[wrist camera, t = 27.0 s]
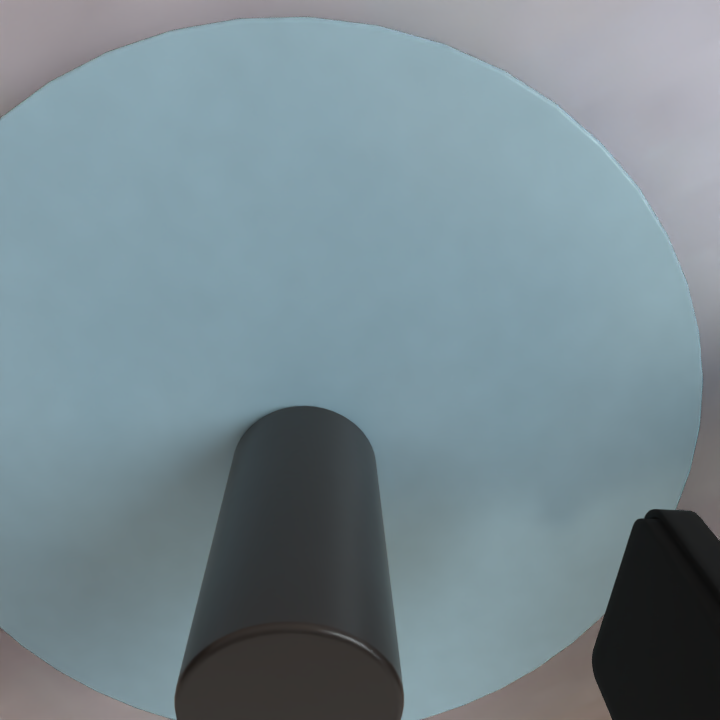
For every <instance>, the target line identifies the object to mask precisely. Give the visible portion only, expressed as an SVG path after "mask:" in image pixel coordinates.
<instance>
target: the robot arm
mask: <svg viewBox="0 0 720 720" xmlns="http://www.w3.org/2000/svg"><path fill="white" fill-rule="evenodd" d="M592 667H593V673H594V676H595V679H596V682H597V684H598V687H599V689H600V691H601V694H602V696H603V698H604V701H605V703H606V706H607V708H608V710H609V713H610V715H611V717H612V720H720V541H719V540H718V539H717V537H716V536H715V535H714V534H713V532H712V531H711V530H710V529H709V528H708V526H707V525H706V524H705V523H704V521H703V520H702V519H701V518H700V517H699V516H698V515H697V514H696V513H695V512H692V511H685V510H666V509H652V510H649V511H648V512H647V513H646V515H645V517H644V518H640V519H637V520H636V521H635V522H634V524H633V527H632V530H631V533H630V536H629V539H628V542H627V545H626V549H625V552H624V555H623V558H622V561H621V564H620V568H619V571H618V574H617V577H616V580H615V583H614V586H613V590H612V593H611V596H610V599H609V602H608V605H607V608H606V612H605V615H604V618H603V621H602V624H601V627H600V631H599V634H598V637H597V640H596V643H595V646H594V649H593V654H592Z"/></svg>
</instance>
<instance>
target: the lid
mask: <svg viewBox="0 0 720 720" xmlns="http://www.w3.org/2000/svg"><path fill="white" fill-rule="evenodd" d="M702 388H703V374H702V362H701V350H700V337H699V330H698V326H697V322H696V317H695V313H694V309H693V305H692V301H691V297H690V292H689V288H688V284H687V281H686V279H685V276H684V274H683V271H682V269H681V266H680V264H679V262H678V259H677V257H676V254H675V252H674V249H673V247H672V245H671V242H670V240H669V237H668V235H667V233H666V231H665V230H664V228H663V227H662V225H661V223H660V222H659V220H658V218H657V217H656V215H655V213H654V212H653V210H652V208H651V207H650V205H649V203H648V202H647V200H646V198H645V197H644V195H643V194H642V192H641V190H640V189H639V187H638V186H637V185H636V184H635V182H634V181H633V180H632V179H631V178H630V177H629V175H628V174H627V173H626V172H625V171H624V169H623V168H622V167H621V166H620V165H619V163H618V162H617V161H616V160H615V159H614V158H613V156H612V155H611V154H610V153H609V152H608V150H607V149H606V148H605V147H604V146H603V144H602V143H600V142H599V141H598V140H597V139H596V138H595V137H594V136H592V135H591V134H590V133H589V132H588V131H587V130H586V129H584V128H583V127H582V126H581V125H580V124H579V123H578V122H576V121H575V120H574V119H573V118H572V117H571V116H570V115H568V114H567V113H566V112H565V111H564V110H563V109H561V108H560V107H559V106H558V105H557V104H556V103H554V102H552V101H551V100H549V99H548V98H546V97H545V96H543V95H541V94H540V93H538V92H537V91H535V90H534V89H532V88H530V87H529V86H527V85H526V84H524V83H523V82H521V81H519V80H518V79H516V78H515V77H513V76H512V75H510V74H508V73H507V72H505V71H504V70H502V69H499V68H497V67H495V66H493V65H490V64H488V63H486V62H484V61H481V60H479V59H477V58H475V57H472V56H470V55H468V54H466V53H463V52H461V51H459V50H457V49H454V48H452V47H450V46H448V45H445V44H443V43H440V42H436V41H432V40H429V39H425V38H422V37H418V36H414V35H411V34H407V33H404V32H400V31H396V30H393V29H389V28H386V27H382V26H378V25H371V24H363V23H355V22H347V21H339V20H331V19H323V18H315V17H278V18H239V19H234V20H228V21H222V22H216V23H210V24H205V25H199V26H193V27H187V28H181V29H176V30H171V31H168V32H165V33H162V34H159V35H156V36H153V37H150V38H147V39H144V40H141V41H138V42H135V43H132V44H129V45H126V46H123V47H120V48H117V49H114V50H111V51H108V52H106V53H104V54H102V55H100V56H98V57H96V58H94V59H93V60H91V61H89V62H87V63H85V64H83V65H81V66H79V67H77V68H75V69H73V70H71V71H69V72H67V73H65V74H63V75H62V76H60V77H58V78H56V79H54V80H52V81H50V82H48V83H47V84H46V85H44V86H43V87H42V88H40V89H39V90H38V91H36V92H35V93H34V94H32V95H31V96H29V97H28V98H27V99H25V100H24V101H23V102H21V103H20V104H19V105H17V106H16V107H15V108H13V109H12V110H10V111H9V112H8V113H6V114H5V115H4V116H2V117H1V118H0V628H2V629H3V630H4V631H5V632H6V633H7V634H9V635H10V636H11V637H12V638H13V639H14V640H16V641H17V642H18V643H19V644H20V645H21V646H23V647H24V648H26V649H27V650H29V651H30V652H32V653H33V654H35V655H36V656H37V657H39V658H40V659H42V660H43V661H45V662H46V663H48V664H49V665H51V666H52V667H54V668H55V669H56V670H58V671H60V672H62V673H63V674H65V675H67V676H69V677H71V678H73V679H74V680H76V681H78V682H80V683H82V684H84V685H86V686H87V687H89V688H91V689H93V690H95V691H97V692H99V693H101V694H104V695H106V696H109V697H111V698H113V699H116V700H118V701H120V702H123V703H125V704H128V705H130V706H132V707H135V708H137V709H140V710H144V711H147V712H150V713H153V714H156V715H160V716H163V717H166V718H169V719H172V720H421V719H425V718H428V717H431V716H434V715H437V714H440V713H443V712H446V711H448V710H451V709H454V708H457V707H460V706H463V705H466V704H468V703H470V702H472V701H475V700H477V699H479V698H481V697H484V696H486V695H488V694H490V693H492V692H495V691H497V690H499V689H501V688H503V687H505V686H507V685H509V684H510V683H512V682H514V681H516V680H517V679H519V678H521V677H522V676H524V675H526V674H528V673H529V672H531V671H533V670H535V669H536V668H538V667H540V666H541V665H542V664H544V663H545V662H547V661H548V660H549V659H551V658H552V657H554V656H555V655H556V654H558V653H559V652H560V651H562V650H563V649H565V648H566V647H567V646H569V645H570V644H572V643H573V642H574V641H575V640H576V639H577V638H578V637H580V636H581V635H582V634H583V633H584V632H585V631H586V630H587V629H588V628H590V627H591V626H592V625H593V624H594V623H595V622H596V621H597V620H599V619H600V618H601V617H602V616H603V615H604V614H605V612H606V608H607V605H608V602H609V599H610V596H611V593H612V590H613V586H614V583H615V580H616V577H617V574H618V571H619V568H620V564H621V561H622V558H623V555H624V552H625V549H626V545H627V542H628V539H629V536H630V533H631V530H632V527H633V524H634V522H635V521H636V520H637V519H640V518H644V517H645V515H646V513H647V512H648V511H649V510H652V509H666V510H676V508H677V505H678V502H679V500H680V497H681V494H682V492H683V489H684V486H685V483H686V481H687V478H688V475H689V473H690V469H691V465H692V460H693V456H694V451H695V447H696V442H697V437H698V433H699V428H700V417H701V402H702Z"/></svg>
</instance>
